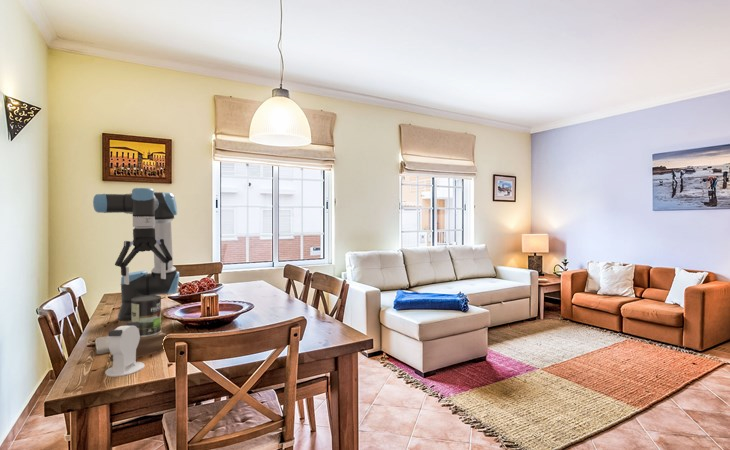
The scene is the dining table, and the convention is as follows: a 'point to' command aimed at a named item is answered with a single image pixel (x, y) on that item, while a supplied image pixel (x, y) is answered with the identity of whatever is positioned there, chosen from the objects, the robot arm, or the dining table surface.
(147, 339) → the walnut box
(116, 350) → the white small appliance
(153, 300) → the coffee can
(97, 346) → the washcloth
